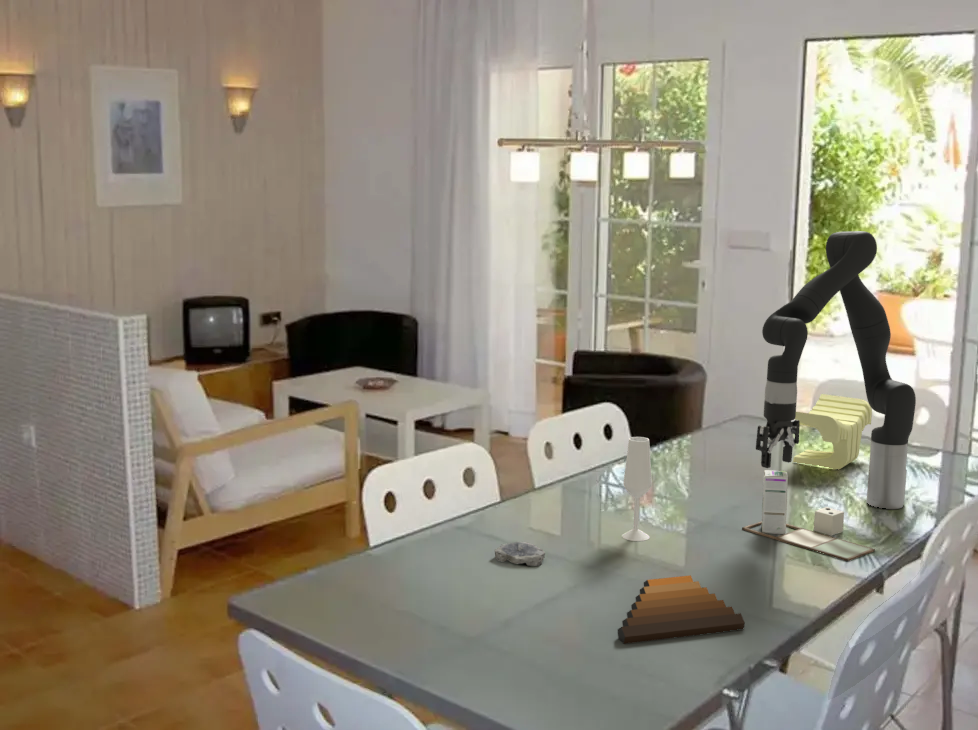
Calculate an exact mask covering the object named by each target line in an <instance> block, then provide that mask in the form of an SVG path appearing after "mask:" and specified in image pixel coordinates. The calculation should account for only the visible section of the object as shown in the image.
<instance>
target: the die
mask: <svg viewBox="0 0 978 730" xmlns="http://www.w3.org/2000/svg"><path fill="white" fill-rule="evenodd" d="M813 517H814V518H813V519H814V520H813V531H814V532H818V533H821V534H825V535H828V536H832V537H833V536H835V535H837V534H840V533H843V531H844V519H845V511H842V510H839V509H835V508H831V507H827V506H826V507H825V506H824V507H822V508H820V509H817V510H814V516H813Z"/></svg>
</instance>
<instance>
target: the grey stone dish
mask: <svg viewBox="0 0 978 730" xmlns="http://www.w3.org/2000/svg"><path fill="white" fill-rule="evenodd" d="M545 554H546V551H544V550H543V548H540V547H538V546H536V545H535V544H533V543H530V542H525V541H515V542H510V543H508V542H507V543H505V544H504V543H503V544H500V545H499V547H497V548H496V549H494V558H495V559H496V560H497V561H498V562H501V563H505V562H507V561H508V562H510V563H512V564H515V565H517V564H526V565H527V566H531V567H538V566H541V565H542V564H543V561H544V559H545Z"/></svg>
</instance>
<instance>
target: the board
mask: <svg viewBox="0 0 978 730" xmlns="http://www.w3.org/2000/svg"><path fill="white" fill-rule="evenodd" d="M758 526H762V520H761V521H759V522H754V523H752V524H749V525H746V526H743V527H741V530H743V531H745V532H749V533H753V534H756V535H758V536H762V537H765V538H768V539H772V540H776V541H780V542H783V543H786V544H789V545H791V546H792V545H793V546H795V547H798V548H802V549H805V548H806V550H808V549H810V550H809V551H812V550H814V551H813V552H815V551H818V552H821V553H820V554H822V553H824V554H823V555H825V554H826V556H828V555H829V557H833V558H835V559H839V560H842V561H846V562H850V561H852V560H856V559H859V558H861V557H863V556H866V555H868V554H870V553H873V552H875V551H876V550H875V548H873V547H871V546H870V547H869V546H866V545H863V544H859V543H856V542H852V541H848V540H845V539H842V538H837V537H834V536H833V535H832V536H831V535H827V534H824V533H821V532H817V531H814V530H811V529H806V528H803V527H800V526H796V525H792V524H789V523H786V528H787V527H788V528H791V529H793V530H792V531H790V532H786V533H785V534H779V535H778V536H775V535H772V534H770V533H764V532H762V531H758V530H755V529H752V528H754V527H758ZM794 529H795V530H794ZM818 552H817V553H818Z"/></svg>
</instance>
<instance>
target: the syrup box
mask: <svg viewBox="0 0 978 730" xmlns="http://www.w3.org/2000/svg"><path fill="white" fill-rule="evenodd" d="M788 477H789V476H788V471H786V470H781V469H780V470H779V469H766V470H765V469H764V470H763V479H762V480H763V482H762V505H761V506H762V508H761V509H762V510H761V521H762V524H761V532H762V533H765V534H775V535H783V534H786V533H787V532H786V531H787V526H786V524H787V512H788V481H789V480H788V479H789V478H788Z"/></svg>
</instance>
